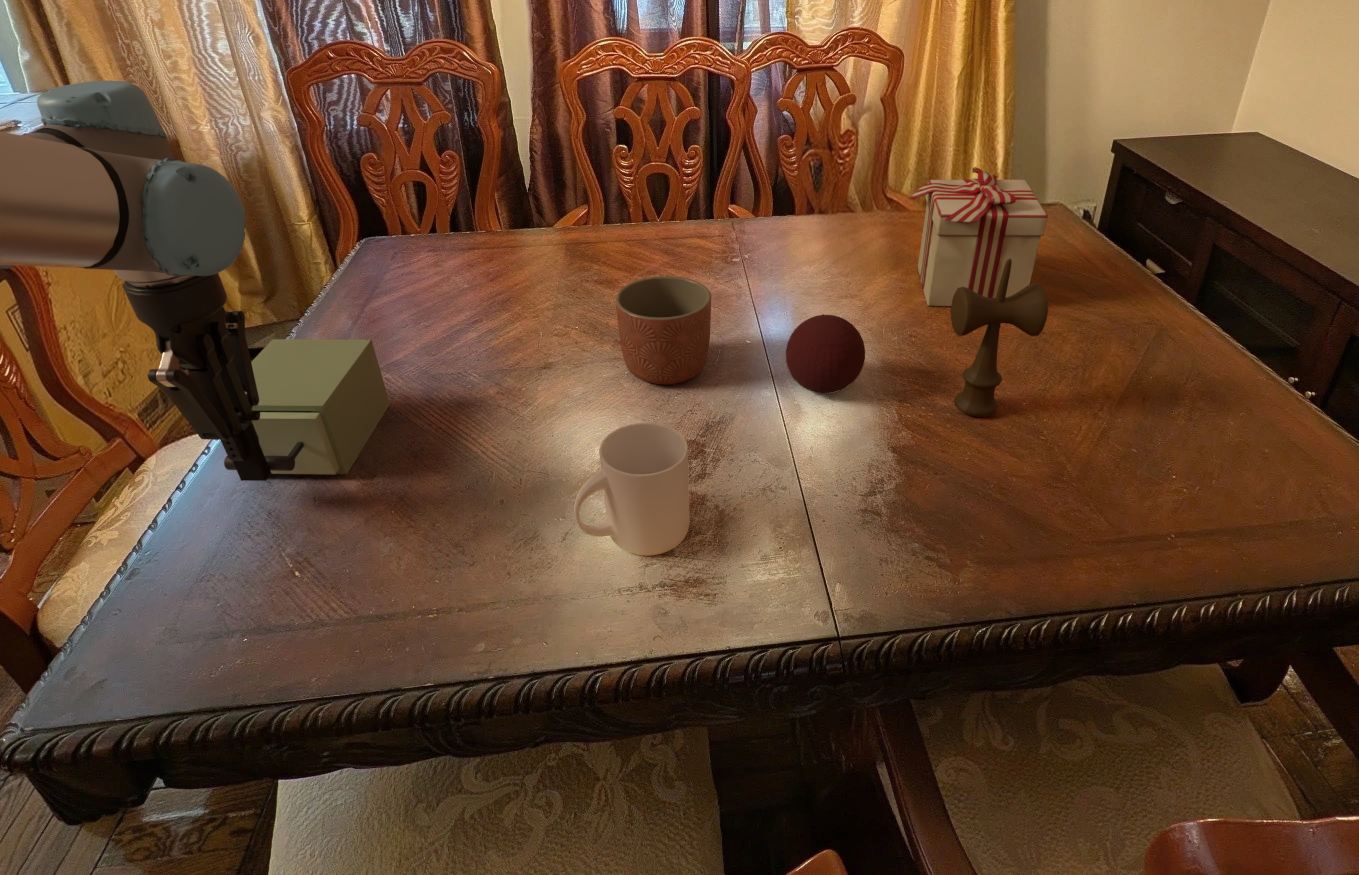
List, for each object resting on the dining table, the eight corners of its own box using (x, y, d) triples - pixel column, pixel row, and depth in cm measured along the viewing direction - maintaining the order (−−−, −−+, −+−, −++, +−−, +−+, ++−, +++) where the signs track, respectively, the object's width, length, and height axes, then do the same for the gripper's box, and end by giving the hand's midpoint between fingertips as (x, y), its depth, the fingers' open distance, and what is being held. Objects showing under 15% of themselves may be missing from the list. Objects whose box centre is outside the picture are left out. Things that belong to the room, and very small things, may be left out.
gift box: (891, 267, 134) (905, 163, 124) (1003, 266, 133) (1027, 162, 123) (910, 315, 120) (928, 203, 110) (1035, 314, 119) (1065, 201, 109)
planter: (702, 397, 104) (702, 322, 97) (610, 389, 106) (603, 315, 99) (718, 349, 113) (718, 278, 107) (633, 342, 116) (628, 272, 109)
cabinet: (347, 474, 93) (323, 405, 87) (241, 472, 93) (211, 404, 88) (390, 403, 104) (371, 339, 99) (296, 403, 105) (272, 338, 99)
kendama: (1021, 421, 98) (1064, 269, 86) (942, 423, 98) (974, 271, 86) (1005, 394, 102) (1043, 246, 91) (929, 396, 103) (958, 248, 91)
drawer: (320, 499, 88) (298, 442, 83) (219, 498, 88) (192, 441, 84) (377, 408, 102) (361, 355, 97) (291, 407, 103) (271, 354, 98)
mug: (565, 528, 84) (553, 446, 78) (668, 493, 88) (664, 413, 82) (595, 581, 78) (584, 497, 72) (704, 541, 82) (703, 459, 76)
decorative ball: (858, 413, 100) (867, 343, 94) (778, 403, 102) (782, 334, 96) (863, 371, 108) (871, 304, 102) (789, 363, 110) (793, 297, 104)
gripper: (166, 302, 66) (261, 517, 80) (243, 242, 77) (315, 441, 90) (80, 302, 67) (189, 516, 80) (168, 242, 77) (251, 440, 91)
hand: (256, 476), depth 85 cm, fingers closed
